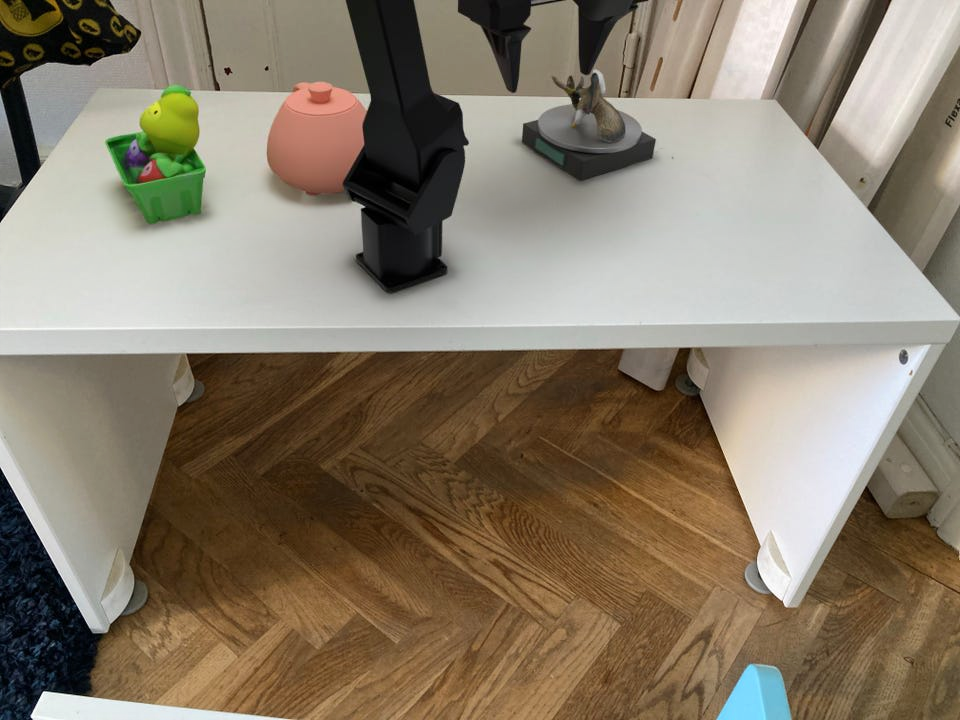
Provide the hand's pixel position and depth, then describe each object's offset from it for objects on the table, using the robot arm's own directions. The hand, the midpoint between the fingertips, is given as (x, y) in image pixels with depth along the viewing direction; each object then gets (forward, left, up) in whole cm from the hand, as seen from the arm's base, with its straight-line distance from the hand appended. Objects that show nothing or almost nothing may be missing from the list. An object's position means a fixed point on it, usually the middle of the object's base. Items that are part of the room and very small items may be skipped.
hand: (549, 82), depth 81 cm
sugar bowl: (-18, +15, -12) cm, 26 cm away
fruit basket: (-34, +18, -12) cm, 40 cm away
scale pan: (+11, +5, -9) cm, 15 cm away
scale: (+11, +5, -12) cm, 17 cm away
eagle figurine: (+11, +5, -9) cm, 15 cm away
